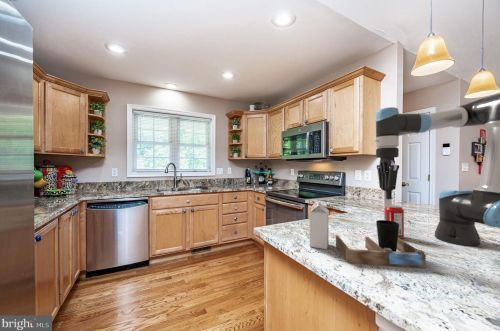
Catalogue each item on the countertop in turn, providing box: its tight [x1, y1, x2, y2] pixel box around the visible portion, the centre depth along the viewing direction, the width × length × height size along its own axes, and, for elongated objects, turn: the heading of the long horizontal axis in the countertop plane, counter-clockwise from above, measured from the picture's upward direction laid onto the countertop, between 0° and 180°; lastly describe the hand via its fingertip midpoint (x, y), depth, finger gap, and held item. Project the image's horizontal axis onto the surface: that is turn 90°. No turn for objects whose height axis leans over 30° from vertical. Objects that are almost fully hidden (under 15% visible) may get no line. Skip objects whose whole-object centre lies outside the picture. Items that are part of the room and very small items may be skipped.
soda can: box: [383, 204, 405, 239], centre depth 101 cm, size 8×8×15 cm
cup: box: [375, 219, 399, 252], centre depth 83 cm, size 8×8×12 cm
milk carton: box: [309, 200, 330, 250], centre depth 90 cm, size 7×7×19 cm
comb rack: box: [335, 234, 427, 269], centre depth 80 cm, size 25×17×6 cm
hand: (387, 206), depth 83 cm, fingers closed
